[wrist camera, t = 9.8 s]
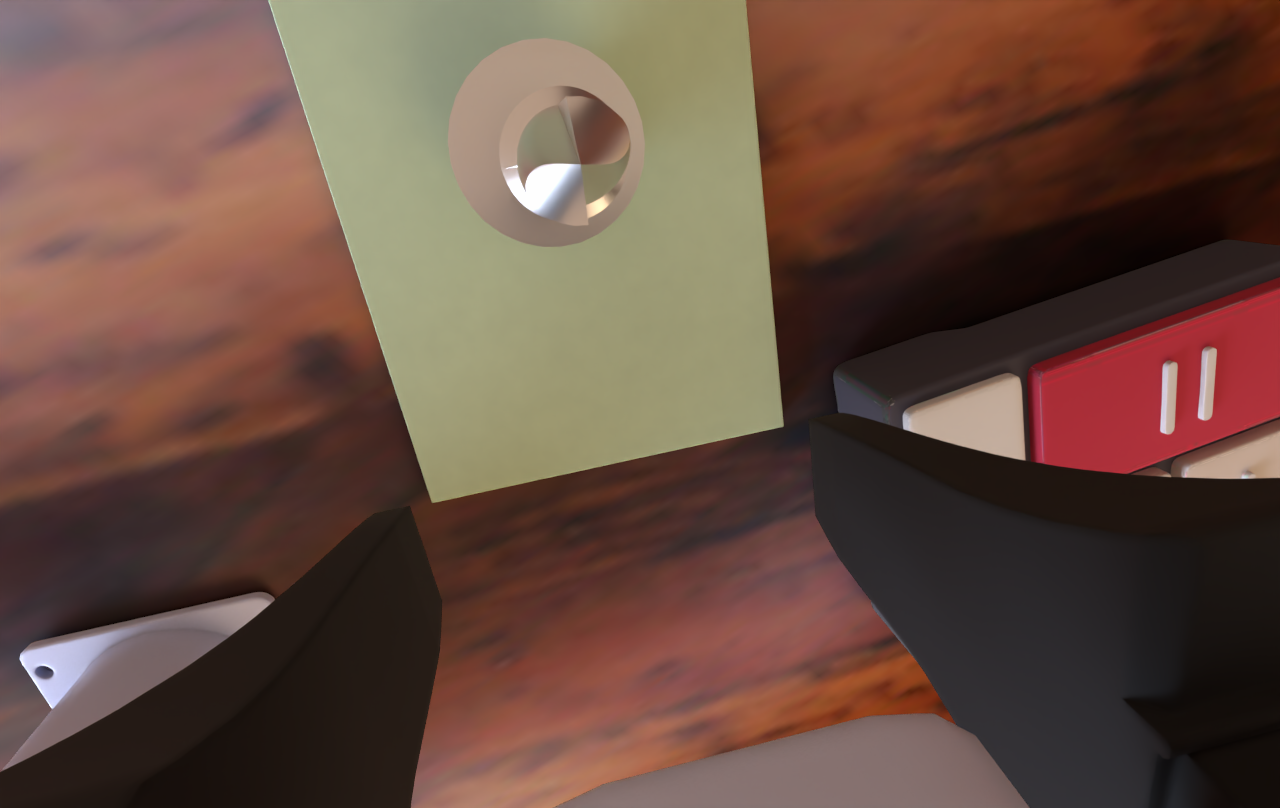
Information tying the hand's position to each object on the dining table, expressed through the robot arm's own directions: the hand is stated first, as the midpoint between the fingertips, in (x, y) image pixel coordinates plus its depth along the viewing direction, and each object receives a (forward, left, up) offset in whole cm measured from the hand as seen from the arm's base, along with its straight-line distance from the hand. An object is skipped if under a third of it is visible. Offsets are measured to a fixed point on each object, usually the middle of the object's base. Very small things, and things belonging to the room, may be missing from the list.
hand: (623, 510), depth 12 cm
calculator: (-7, -16, -11) cm, 21 cm away
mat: (+6, 0, -10) cm, 12 cm away
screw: (+6, 0, -10) cm, 12 cm away
